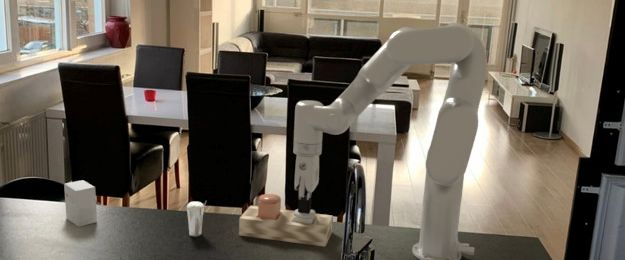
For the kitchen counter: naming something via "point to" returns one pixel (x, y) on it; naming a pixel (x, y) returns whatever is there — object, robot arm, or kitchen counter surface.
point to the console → (286, 227)
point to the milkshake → (195, 218)
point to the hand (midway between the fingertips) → (304, 212)
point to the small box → (80, 203)
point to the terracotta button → (269, 206)
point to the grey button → (304, 217)
